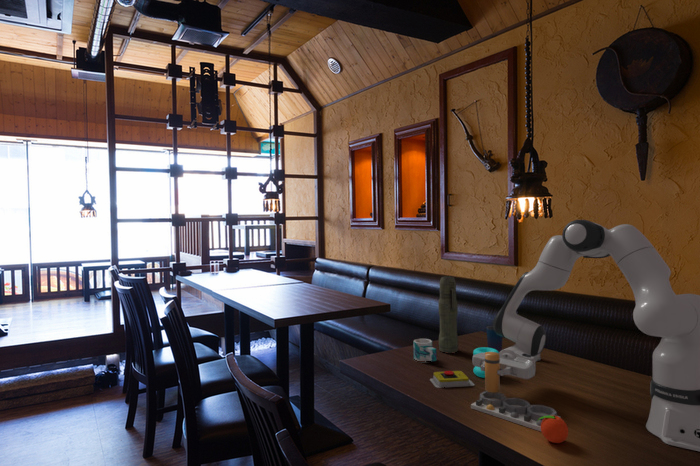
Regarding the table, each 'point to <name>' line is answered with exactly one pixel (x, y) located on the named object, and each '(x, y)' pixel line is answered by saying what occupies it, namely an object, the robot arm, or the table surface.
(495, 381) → the orange-brown tall cylinder
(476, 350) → the donuts
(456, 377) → the emergency button
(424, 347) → the mug
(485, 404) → the grey piece
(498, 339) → the cup
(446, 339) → the thermos
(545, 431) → the clementine
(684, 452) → the table surface
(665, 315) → the robot arm
